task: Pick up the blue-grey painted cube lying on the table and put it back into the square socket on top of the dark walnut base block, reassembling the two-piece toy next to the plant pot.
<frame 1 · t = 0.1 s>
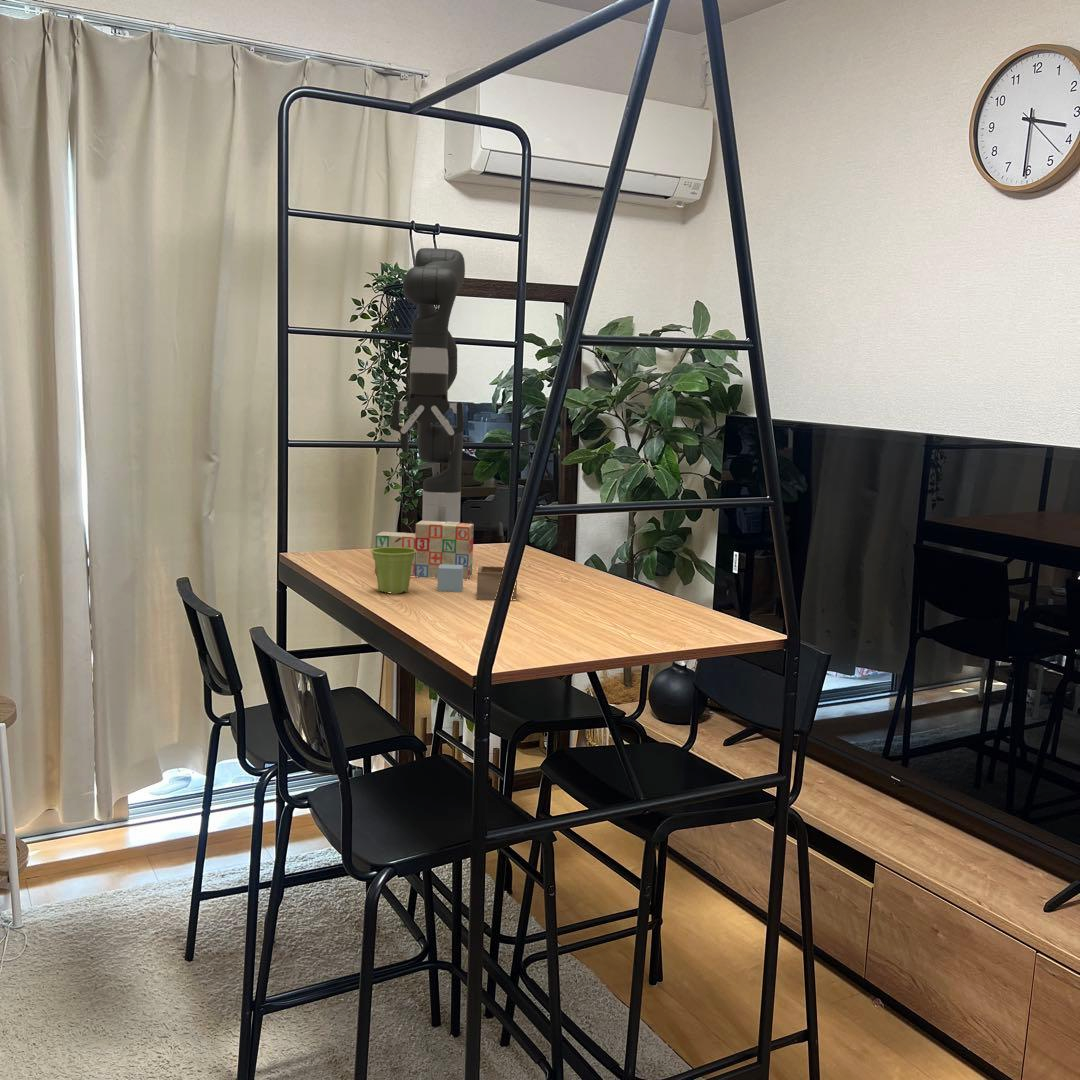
hand: (427, 453, 210), 29 cm above the table, tool pointing down, fingers open, 8 cm apart
stack of blocks: (423, 576, 238), on the table
bluegrey cube: (450, 589, 222), on the table
walnut base: (496, 596, 216), on the table
plant pot: (393, 592, 218), on the table
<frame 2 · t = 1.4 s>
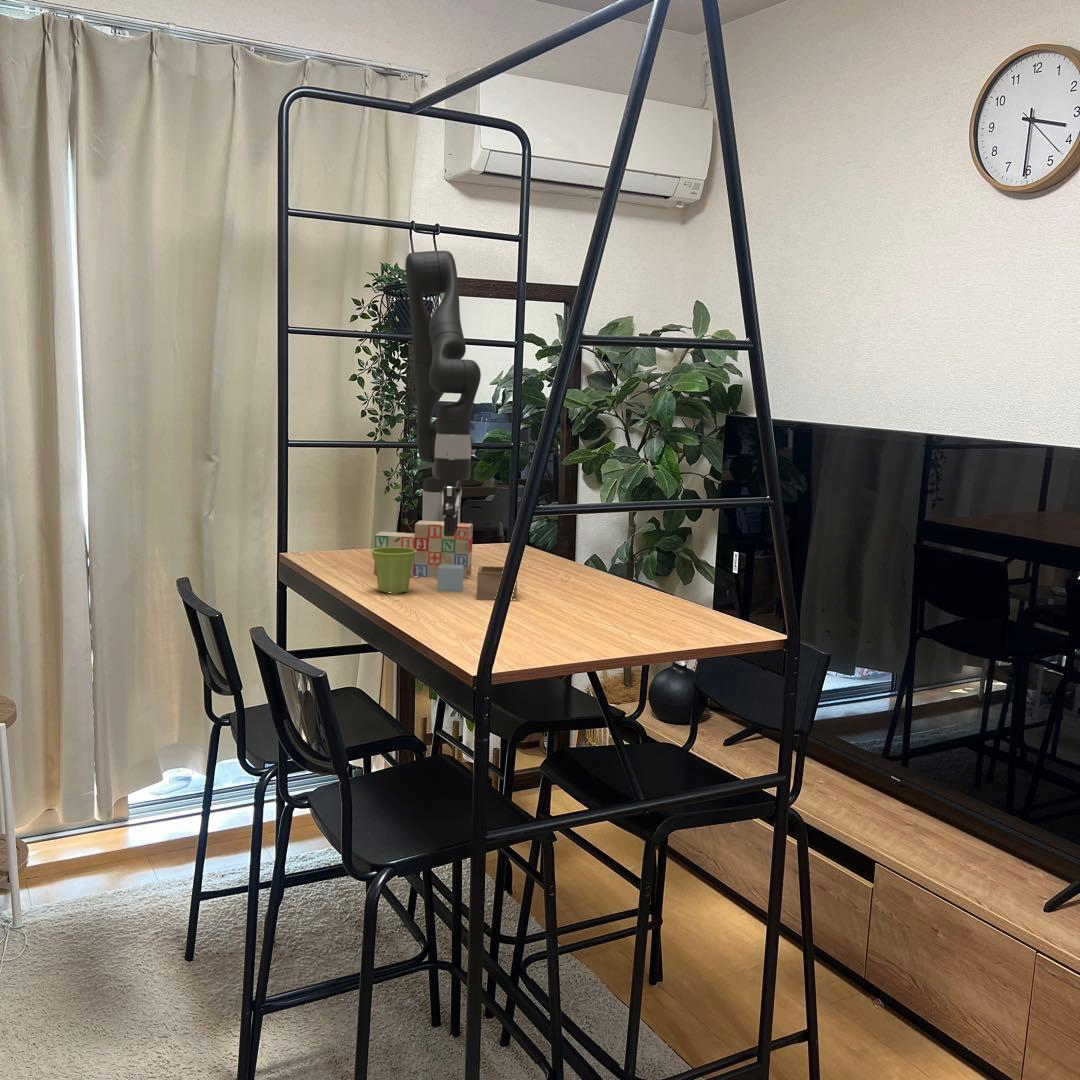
hand: (450, 533, 220), 12 cm above the table, tool pointing down, fingers open, 8 cm apart
nothing on the table moved.
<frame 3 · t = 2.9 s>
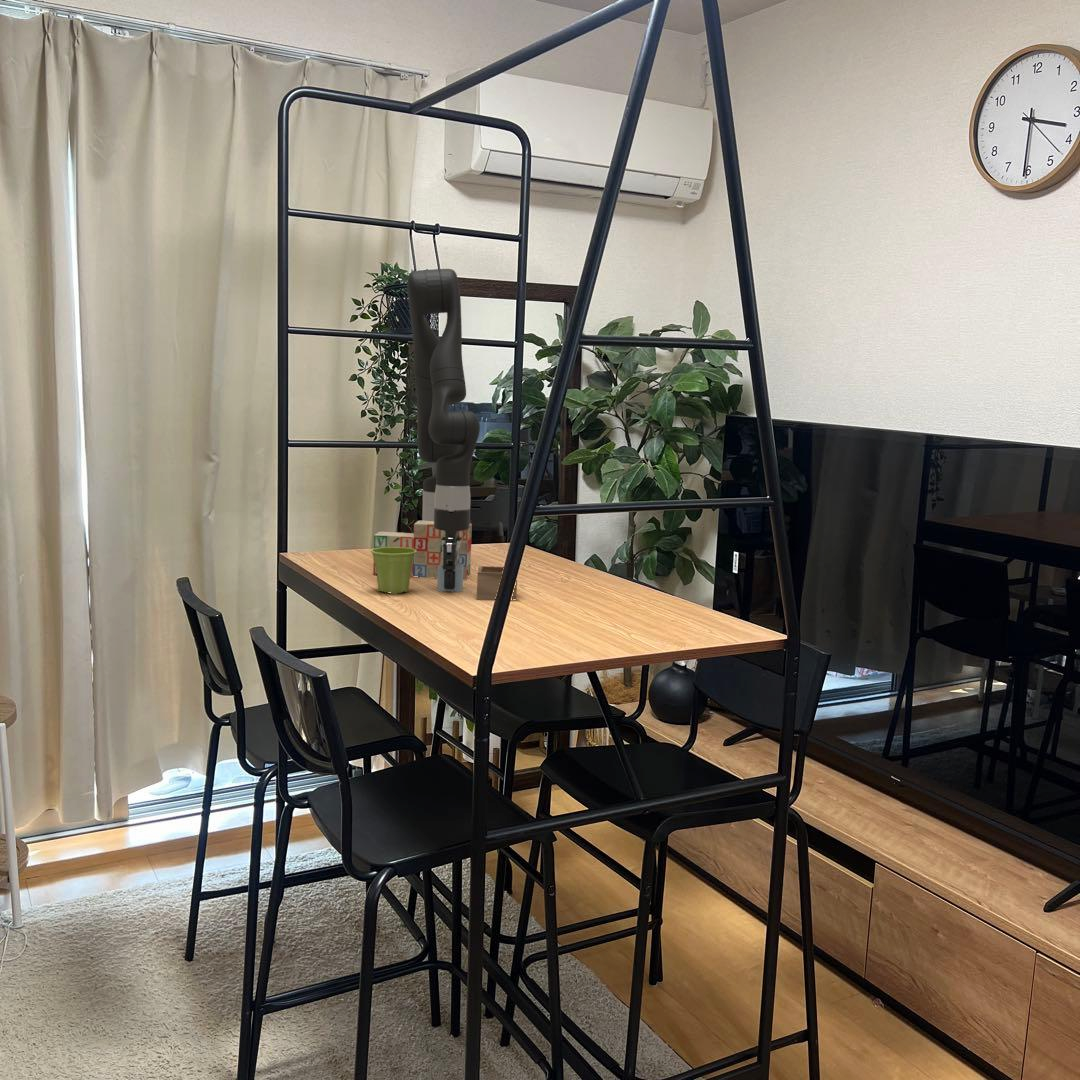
hand: (450, 586, 222), 1 cm above the table, tool pointing down, fingers closed on bluegrey cube, 5 cm apart
bluegrey cube: (450, 589, 222), on the table, touching gripper
everything else where it was.
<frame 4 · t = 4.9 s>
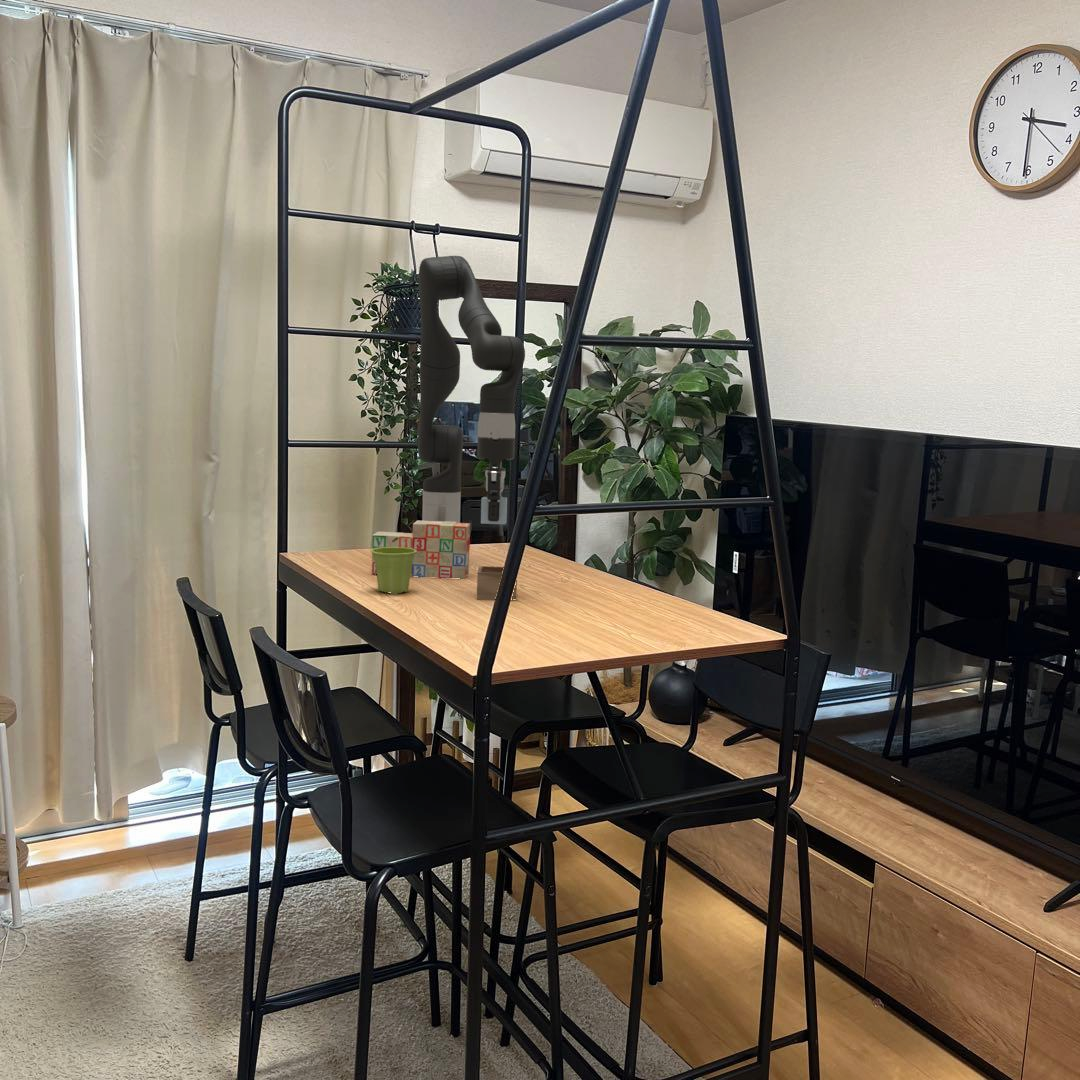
hand: (494, 519, 214), 16 cm above the table, tool pointing down, fingers closed on bluegrey cube, 5 cm apart
bluegrey cube: (493, 522, 214), point 15 cm above the table, touching gripper
everything else where it was.
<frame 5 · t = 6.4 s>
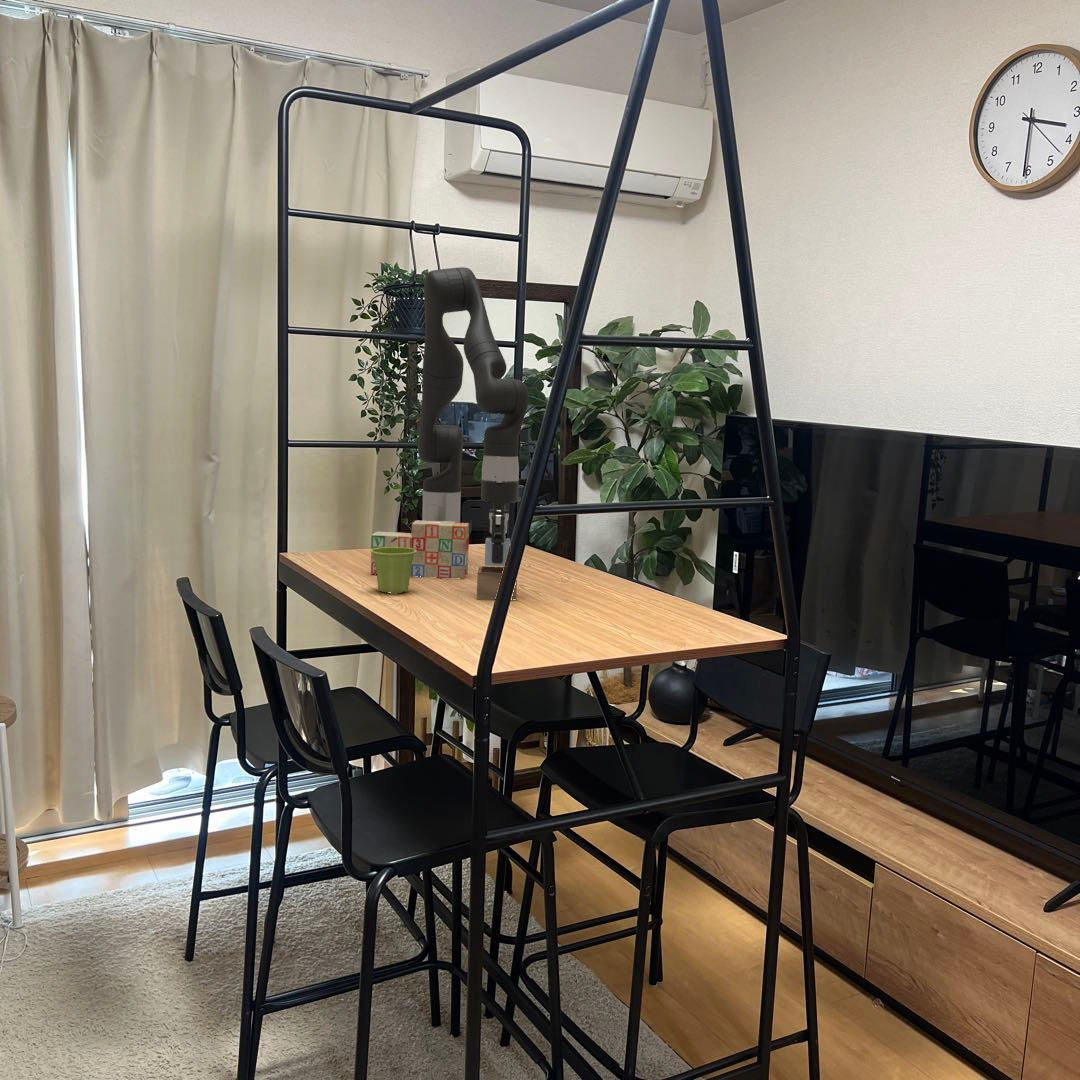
hand: (497, 560, 215), 7 cm above the table, tool pointing down, fingers closed on bluegrey cube, 5 cm apart
bluegrey cube: (497, 564, 215), point 7 cm above the table, touching gripper
when the fingers open (6 cm above the table, at t = 7.2 s): bluegrey cube stays where it is, resting on walnut base.
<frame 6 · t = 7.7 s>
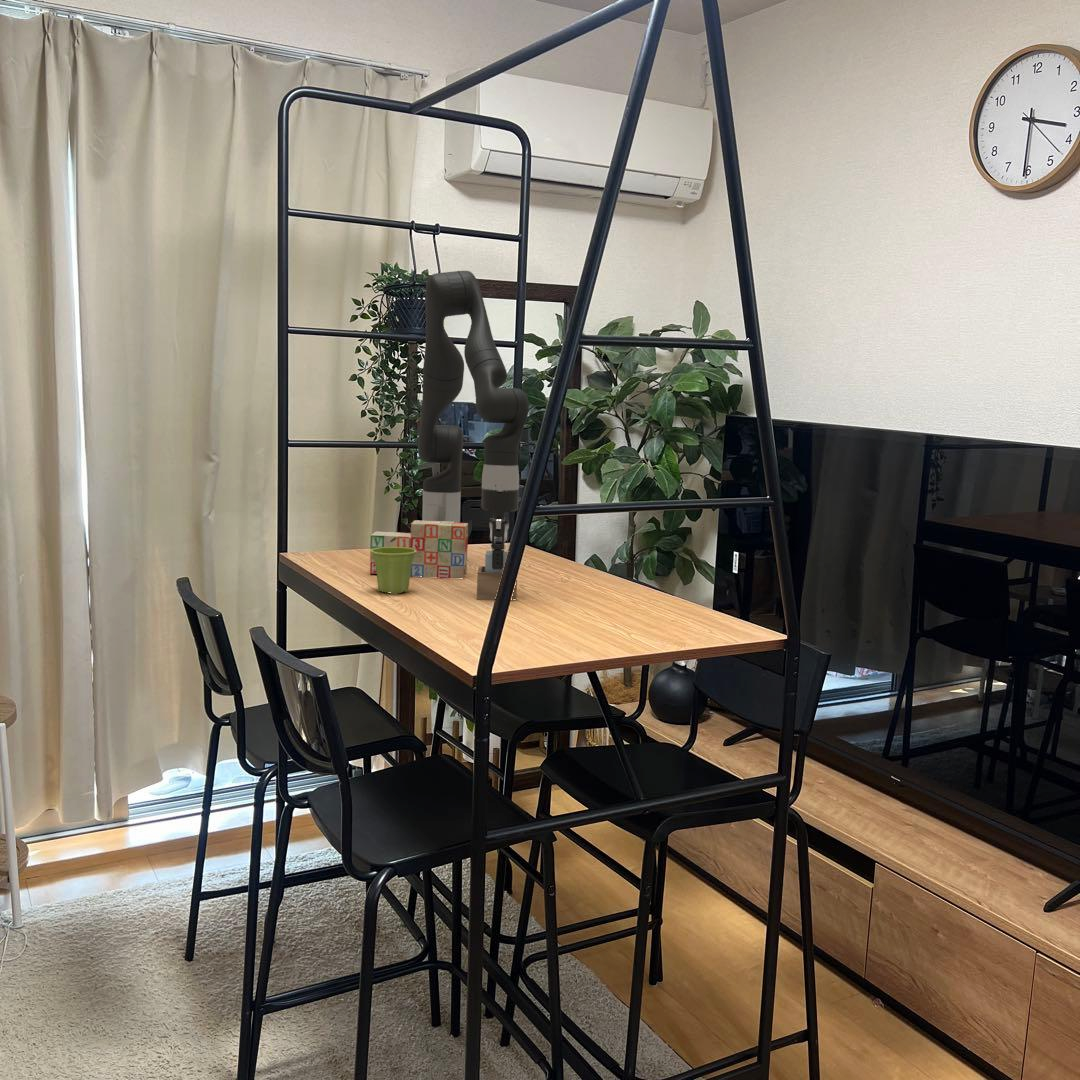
hand: (497, 565, 215), 6 cm above the table, tool pointing down, fingers open, 8 cm apart
bluegrey cube: (497, 577, 216), point 4 cm above the table, touching walnut base
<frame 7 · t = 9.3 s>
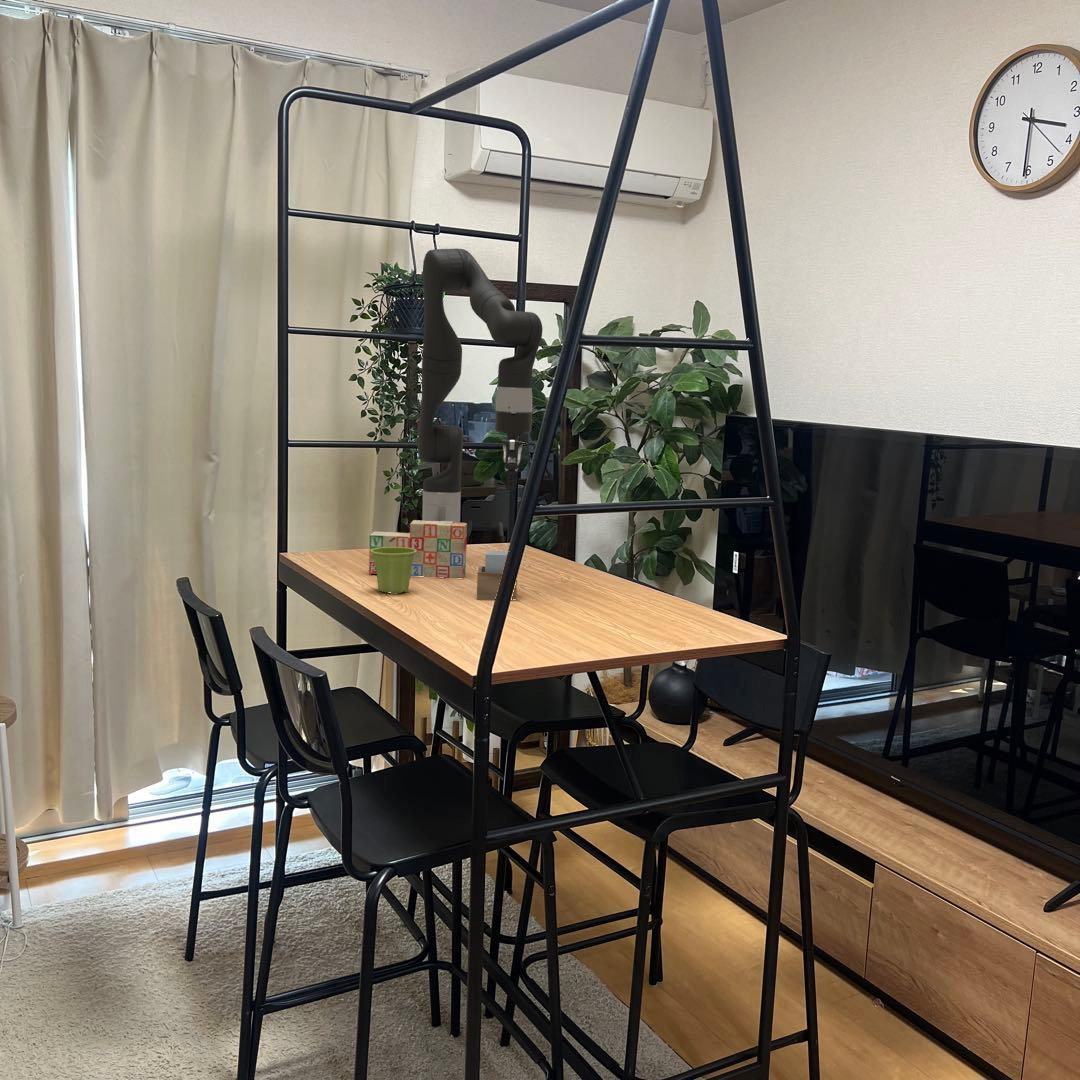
hand: (511, 487, 220), 22 cm above the table, tool pointing down, fingers open, 8 cm apart
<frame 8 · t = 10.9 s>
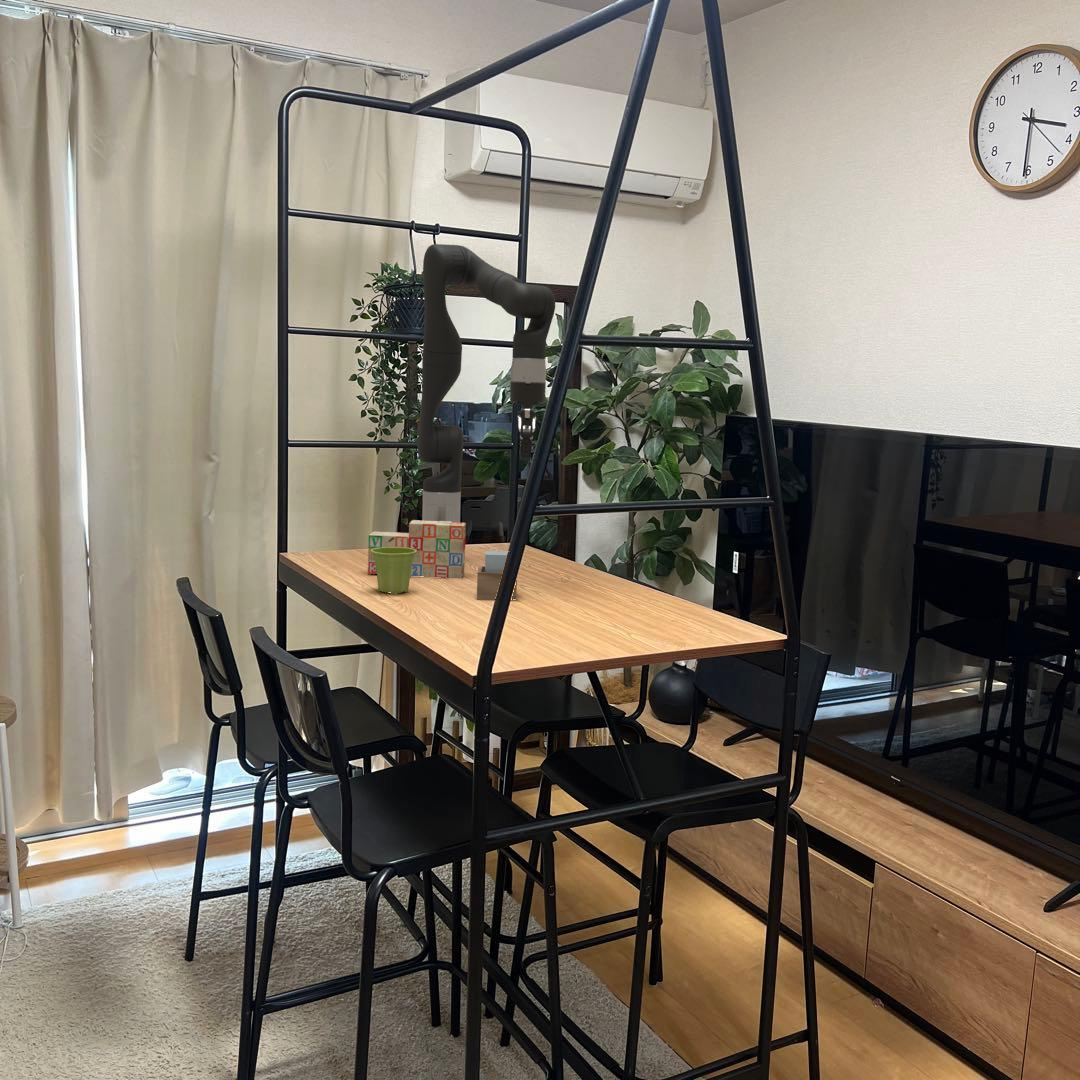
hand: (525, 456, 225), 28 cm above the table, tool pointing down, fingers open, 8 cm apart
at the end: bluegrey cube 0.1 cm off-centre on the walnut base, point 4.0 cm above the walnut base's base; bluegrey cube tilted 0°; the gripper is holding nothing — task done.
